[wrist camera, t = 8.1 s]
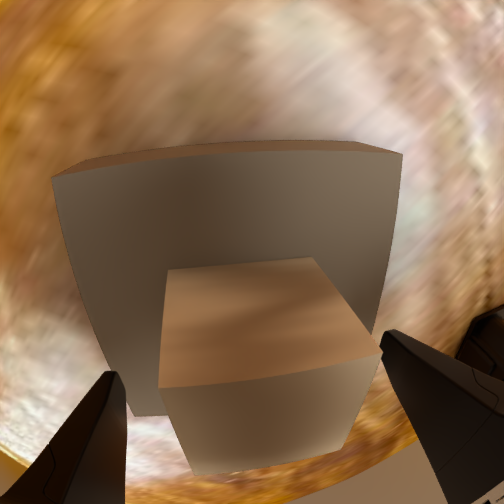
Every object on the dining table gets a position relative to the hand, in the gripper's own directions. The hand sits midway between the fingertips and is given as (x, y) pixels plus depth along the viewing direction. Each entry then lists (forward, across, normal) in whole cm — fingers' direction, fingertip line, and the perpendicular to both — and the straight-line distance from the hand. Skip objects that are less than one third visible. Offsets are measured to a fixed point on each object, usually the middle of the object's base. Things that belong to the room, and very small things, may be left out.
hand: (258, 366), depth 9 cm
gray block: (+7, 0, 0) cm, 7 cm away
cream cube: (+3, 0, 0) cm, 3 cm away
